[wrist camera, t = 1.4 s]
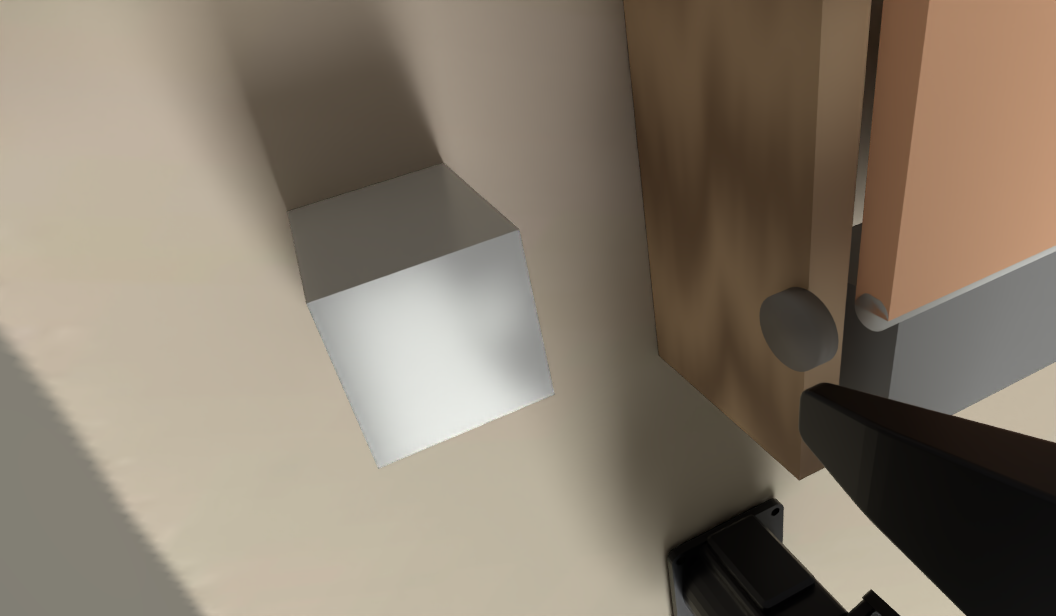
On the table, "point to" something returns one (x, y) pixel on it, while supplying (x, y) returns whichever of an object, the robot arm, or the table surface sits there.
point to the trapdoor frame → (750, 196)
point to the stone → (421, 308)
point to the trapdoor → (956, 206)
